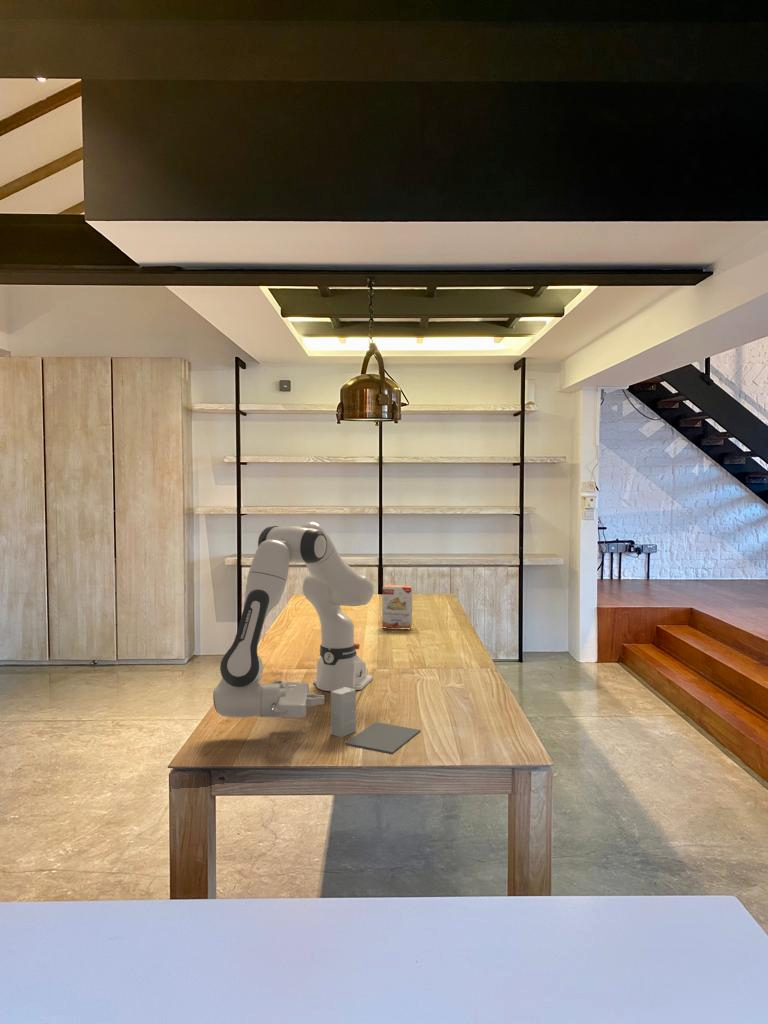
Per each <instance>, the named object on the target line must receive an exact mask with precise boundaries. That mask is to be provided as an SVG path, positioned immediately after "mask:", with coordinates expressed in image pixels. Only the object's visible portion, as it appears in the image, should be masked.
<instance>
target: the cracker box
mask: <svg viewBox="0 0 768 1024" xmlns="http://www.w3.org/2000/svg"><path fill="white" fill-rule="evenodd" d="M381 617H382V619H381V620H382V621H381V622H382V624H381V625H382V627H386V628H411V627H413V585H393V584H392V585H391V584H384V585H383V586H382V615H381ZM382 627H381V628H382ZM411 629H412V628H411Z"/></svg>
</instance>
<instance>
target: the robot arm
mask: <svg viewBox="0 0 768 1024" xmlns="http://www.w3.org/2000/svg"><path fill="white" fill-rule="evenodd" d="M290 563H291V564H292V563H295V564H296V563H298V564H299V563H301V564H302V563H304V564H305V566H306V568H307V570H308V572H309V574H308V575H307V576H306V577H305V578H304V581H303V584H302V593H303V596H304V598H305V599H307V601H308V602H310V604H311V605H312V606H313V607H314V610H315V611H316V613H317V615H318V619H319V623H320V630H321V631H320V634H321V635H320V636H321V639H320V640H321V643H320V645H319V646H320V647H319V656H320V658H318V660H317V666H316V676H315V678H314V679H313V684H315V686H316V687H317V689H319V690H321V691H326V692H332V691H335V690H338V689H341V688H343V687H347V688H351V689H355V690H356V691H361V690H363V689H365V687H366V686H367V685H368V684H369V683H370V682H371V681H372V680H373V679H374V678H373V675H371V674H369V673H367V664H366V662H365V661H364V660H363V659H362V658H361V657H359V655H357V650H359V649H360V643H355V639H354V638H355V633H354V632H355V631H354V628H355V625H354V622H353V620H352V619H351V618H350V617H349V616H348V615H346V614H345V613H344V611H343V610H342V607H341V606H343V607H361V606H366V605H367V604H369V603H370V602H371V600H372V598H373V596H374V591H375V590H374V584H373V583H372V580H371V579H370V578H369V577H368V576H366V575H364V574H362V573H360V572H358V571H357V570H355V569H353V568H352V567H351V566H350V565H349V564H348V563H347V562H345V561H344V560H343V558H342V557H341V556H340V554H339V552H338V549H337V548H336V546H335V544H334V543H333V541H332V539H331V537H330V536H329V534H328V533H327V531H326V530H325V529H324V528H323V526H321V524H319V523H317V522H316V521H306V522H303V523H302V524H301V525H299V526H298V525H291V526H289V525H286V526H285V525H283V526H278V525H271V526H267V527H265V528H264V529H263V530H262V531H261V533H260V534H259V536H258V540H257V549H256V551H255V553H254V556H253V558H252V561H251V564H250V567H249V571H248V573H247V579H246V584H245V592H244V602H243V609H242V614H241V616H240V617H241V618H240V619H239V620H240V621H239V624H238V628H237V631H236V633H235V637H234V639H233V640H234V641H233V643H232V645H231V646H230V647H229V649H228V650H227V652H226V653H225V654H224V655H223V657H222V658H221V662H220V667H219V671H220V674H221V680H220V681H219V682H218V684H217V685H216V687H215V688H214V690H213V693H212V694H213V695H212V696H213V697H212V699H213V705H214V708H215V711H216V713H217V714H219V716H221V717H226V718H236V719H237V718H240V719H241V718H249V717H258V718H285V719H304V718H305V717H306V715H307V710H308V707H314V706H317V705H320V706H321V705H324V704H325V695H324V694H316V693H312V692H311V693H310V684H308V683H307V682H295V681H294V682H293V681H289V682H287V681H286V682H284V681H283V680H275V681H273V682H271V683H261V681H262V680H261V679H262V676H263V672H264V662H263V660H262V658H261V656H260V655H259V654H258V645H259V643H260V638H261V635H262V632H263V627H264V624H265V621H266V619H267V616H268V615H269V613H270V612H271V611H272V610H273V609H274V608H275V607H276V606H278V605H279V602H280V601H281V598H282V596H283V594H284V592H285V587H286V585H287V580H288V576H289V569H290Z"/></svg>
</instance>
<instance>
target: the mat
mask: <svg viewBox="0 0 768 1024" xmlns="http://www.w3.org/2000/svg"><path fill="white" fill-rule="evenodd" d="M420 732H421V729H417V728H411V727H405V726H401V725H393V724H389V723H388V724H387V723H382V722H377V721H375V722H374V723H372V724H371V725H369V726H367V727H366V728H365V729H363V730H362V731H361V732H359V733H357V734H356V735H354V736H353V737H351V738H350V739H348V740H347V741H345V742H344V745H346V746H351V747H357V748H362V749H368V750H373V751H378V752H382V753H387V754H394V753H395V752H397V751H398V750H400V748H402V747H403V746H404V745H405V744H406V743H408V742H409V741H410V740H412V739H413V738H415V736H417V735H418V734H419V733H420Z"/></svg>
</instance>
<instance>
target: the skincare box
mask: <svg viewBox="0 0 768 1024" xmlns="http://www.w3.org/2000/svg"><path fill="white" fill-rule="evenodd" d="M356 694H357V690H355V689H351V688H347V687H343V688H341V689H338V690H335V691H330V734H331V735H332V736H336V737H338V738H344V737H346V736H349V735H351V734H354V733H355V732H357V717H356V716H357V715H356V713H357V709H356V708H357V705H356V701H357V699H356V696H357V695H356Z"/></svg>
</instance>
